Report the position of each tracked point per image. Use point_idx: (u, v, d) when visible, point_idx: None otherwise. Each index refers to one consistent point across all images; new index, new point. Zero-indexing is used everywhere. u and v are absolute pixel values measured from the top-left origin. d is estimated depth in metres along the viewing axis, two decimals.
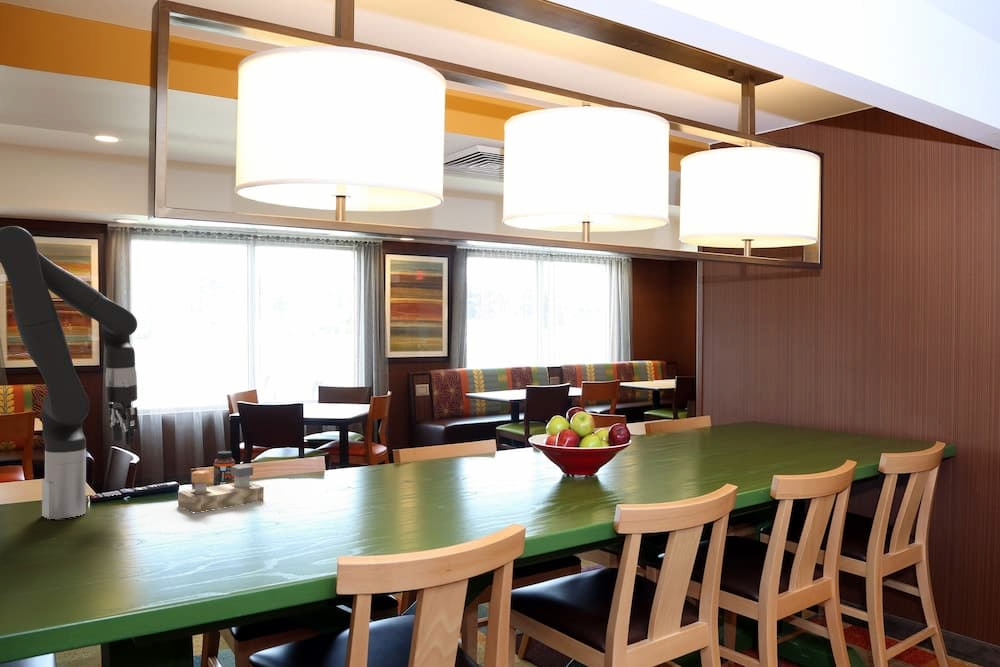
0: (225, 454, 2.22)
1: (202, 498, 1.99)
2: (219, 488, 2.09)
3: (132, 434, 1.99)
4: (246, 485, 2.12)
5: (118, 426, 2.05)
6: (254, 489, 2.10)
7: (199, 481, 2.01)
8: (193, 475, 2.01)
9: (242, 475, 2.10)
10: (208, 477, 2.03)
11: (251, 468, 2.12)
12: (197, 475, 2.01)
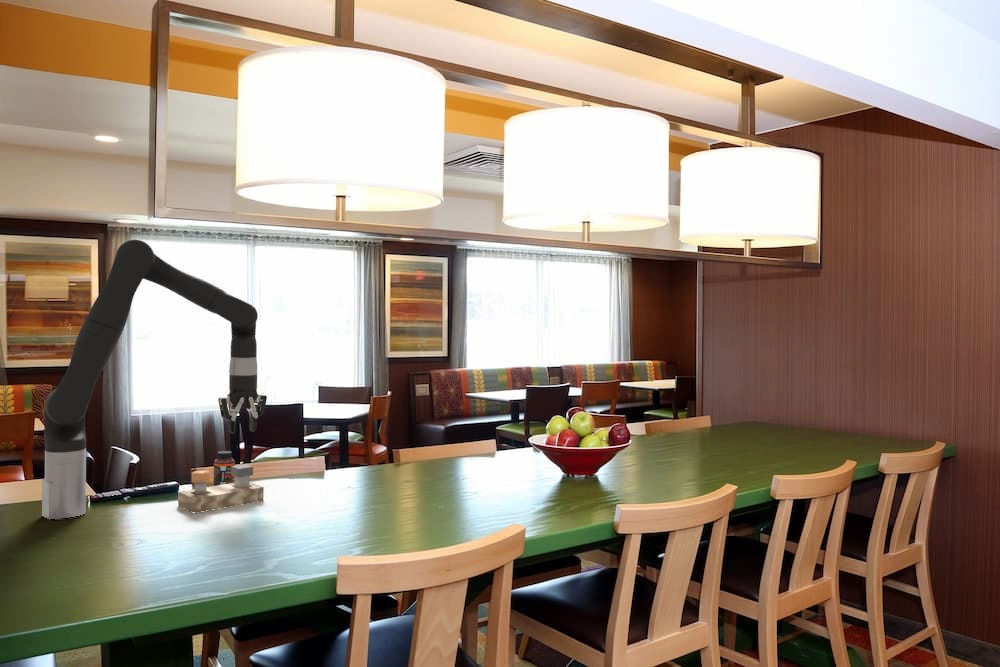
0: (225, 454, 2.22)
1: (202, 498, 1.99)
2: (219, 488, 2.09)
3: None
4: (246, 485, 2.12)
5: None
6: (254, 489, 2.10)
7: (199, 481, 2.01)
8: (193, 475, 2.01)
9: (242, 475, 2.10)
10: (208, 477, 2.03)
11: (251, 468, 2.12)
12: (197, 475, 2.01)
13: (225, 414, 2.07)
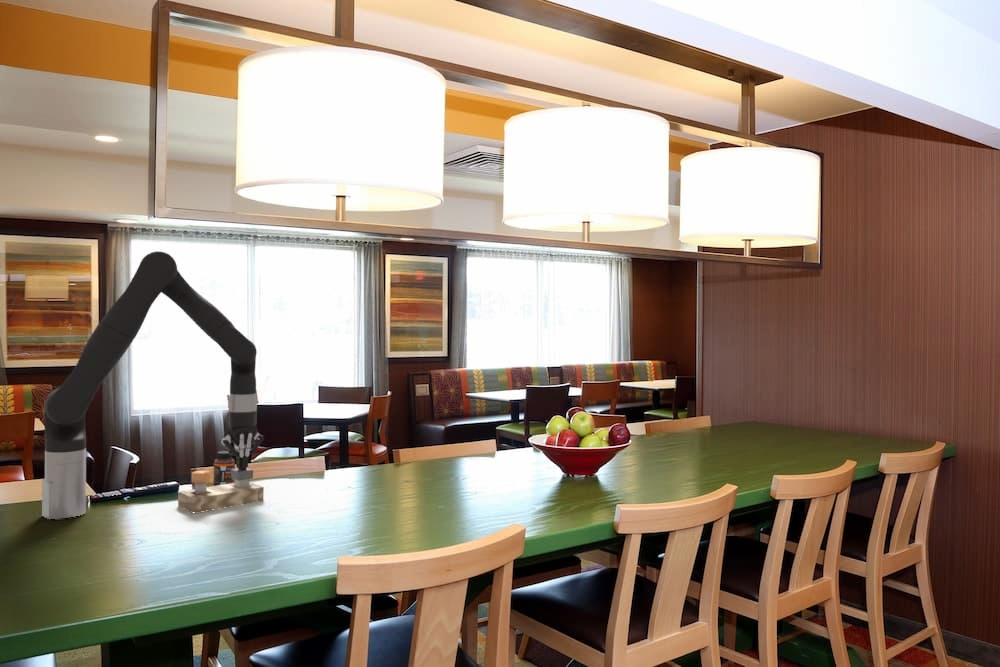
0: (225, 454, 2.22)
1: (202, 498, 1.99)
2: (219, 488, 2.09)
3: None
4: None
5: None
6: (254, 489, 2.10)
7: (199, 481, 2.01)
8: (193, 475, 2.01)
9: (242, 479, 2.10)
10: (208, 477, 2.03)
11: (251, 471, 2.12)
12: (197, 475, 2.01)
13: (233, 451, 2.09)
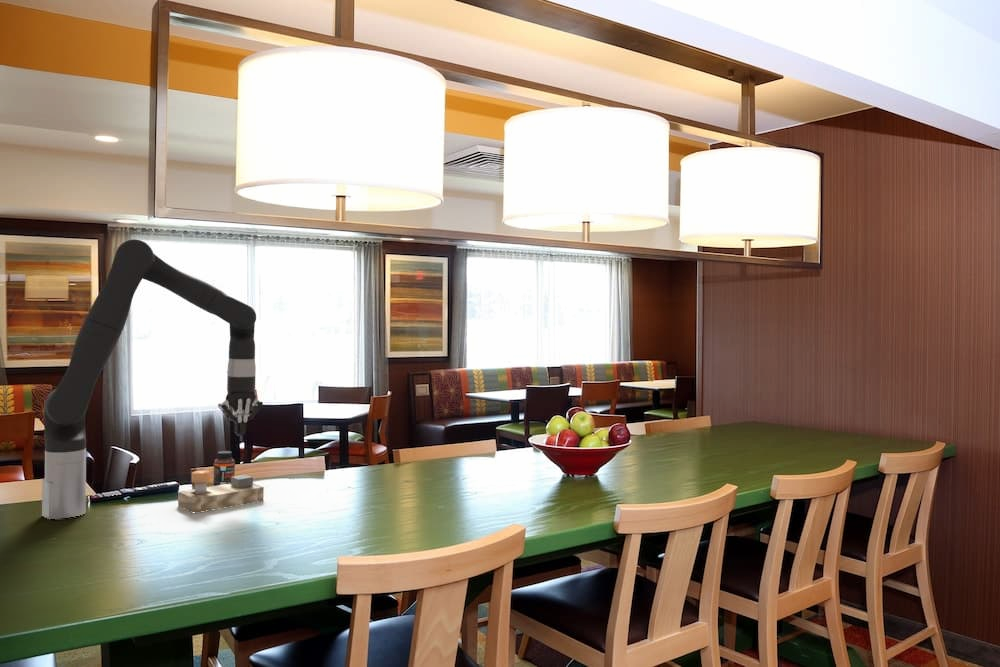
0: (225, 454, 2.22)
1: (202, 498, 1.99)
2: (219, 488, 2.09)
3: None
4: None
5: None
6: (254, 489, 2.10)
7: (199, 481, 2.01)
8: (193, 475, 2.01)
9: (242, 486, 2.10)
10: (208, 477, 2.03)
11: (251, 478, 2.12)
12: (197, 475, 2.01)
13: (232, 416, 2.08)
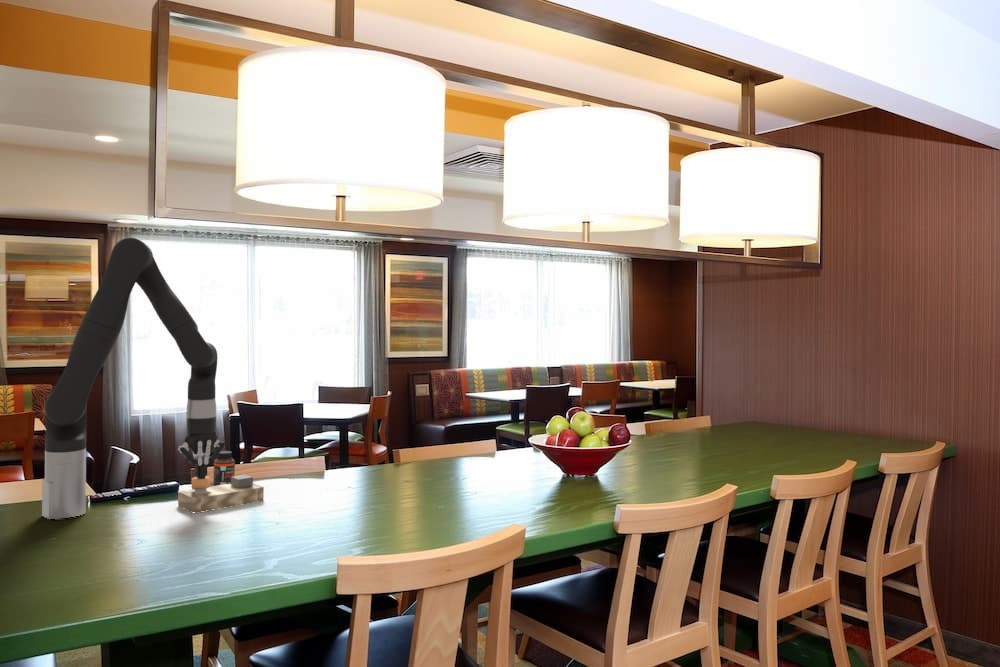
0: (225, 454, 2.22)
1: (202, 498, 1.99)
2: (219, 488, 2.09)
3: None
4: None
5: None
6: (254, 489, 2.10)
7: (199, 487, 2.01)
8: (193, 481, 2.01)
9: (242, 486, 2.10)
10: (208, 482, 2.03)
11: (251, 478, 2.12)
12: (197, 481, 2.01)
13: (191, 459, 2.00)
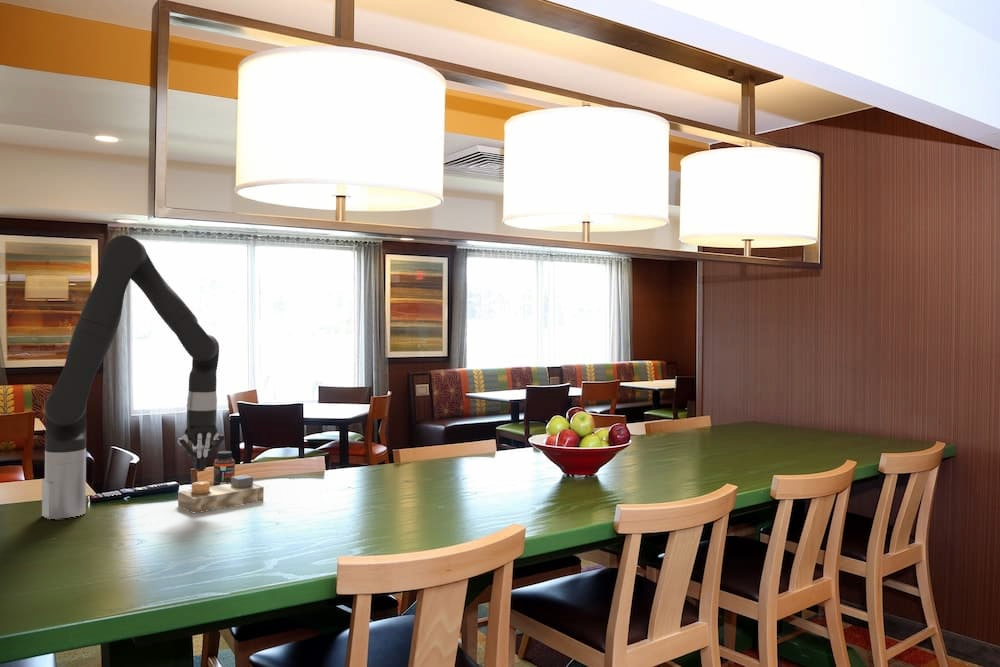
0: (225, 454, 2.22)
1: (202, 498, 1.99)
2: (219, 488, 2.09)
3: None
4: None
5: None
6: (254, 489, 2.10)
7: (199, 492, 2.01)
8: (193, 486, 2.02)
9: (242, 486, 2.10)
10: (208, 488, 2.03)
11: (251, 478, 2.12)
12: (197, 486, 2.01)
13: (190, 451, 2.00)
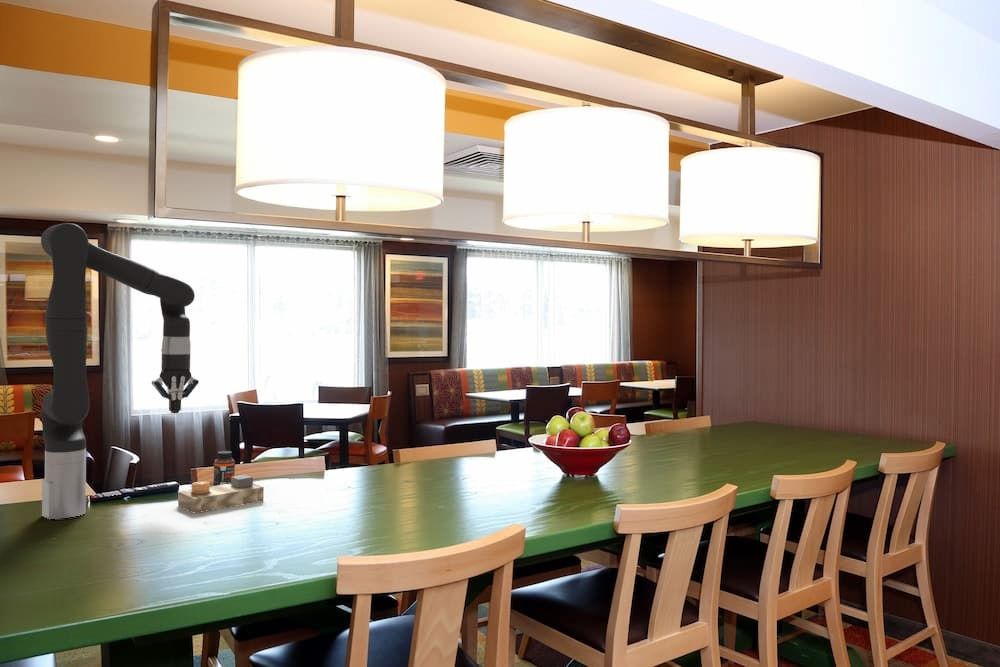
0: (225, 454, 2.22)
1: (202, 498, 1.99)
2: (219, 488, 2.09)
3: None
4: None
5: None
6: (254, 489, 2.10)
7: (199, 492, 2.01)
8: (193, 486, 2.02)
9: (242, 486, 2.10)
10: (208, 488, 2.03)
11: (251, 478, 2.12)
12: (197, 486, 2.01)
13: (165, 393, 2.09)
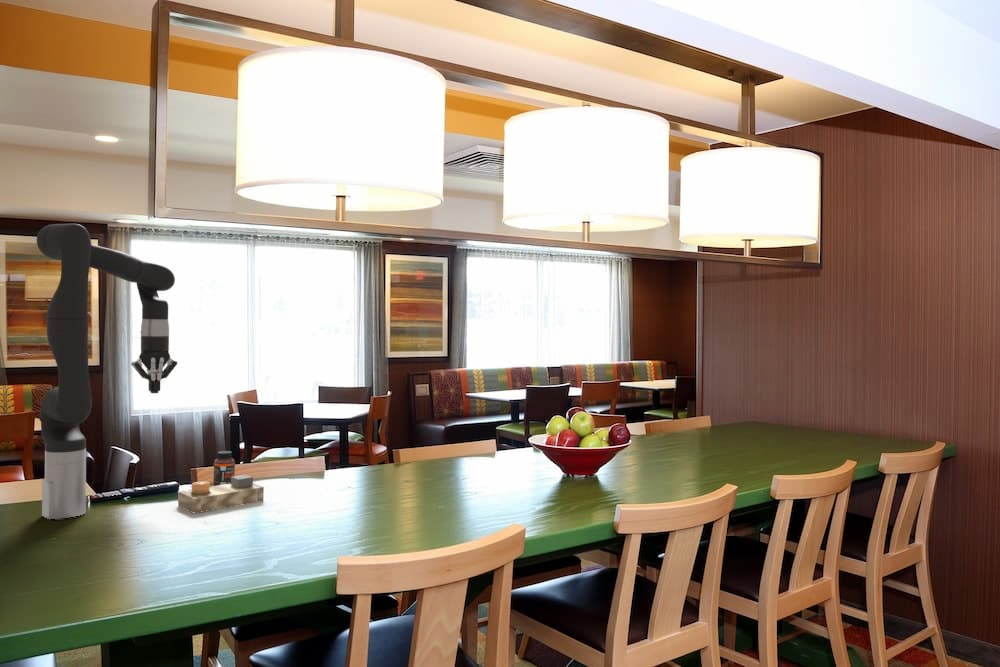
0: (225, 454, 2.22)
1: (202, 498, 1.99)
2: (219, 488, 2.09)
3: None
4: None
5: None
6: (254, 489, 2.10)
7: (199, 492, 2.01)
8: (193, 486, 2.02)
9: (242, 486, 2.10)
10: (208, 488, 2.03)
11: (251, 478, 2.12)
12: (197, 486, 2.01)
13: (145, 374, 2.17)
